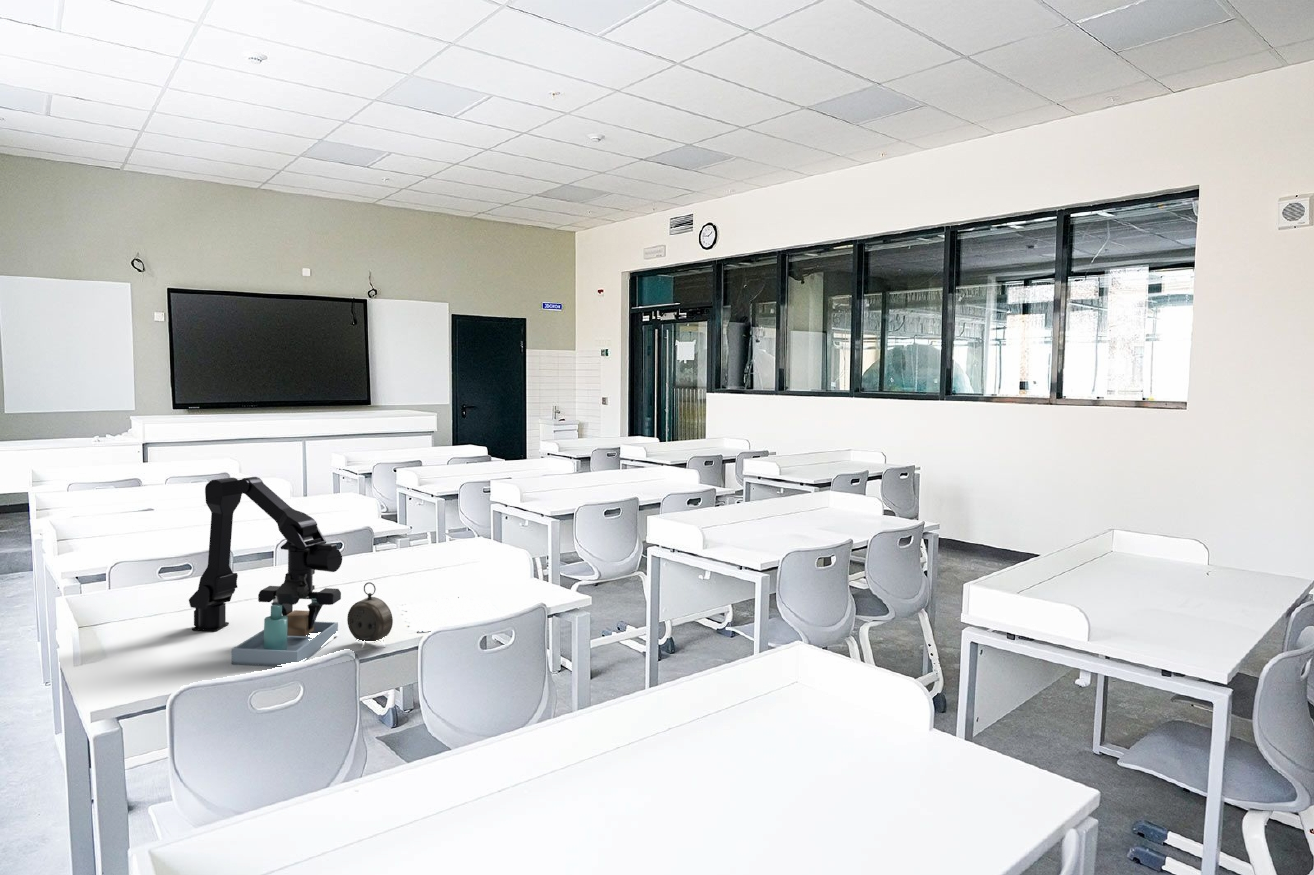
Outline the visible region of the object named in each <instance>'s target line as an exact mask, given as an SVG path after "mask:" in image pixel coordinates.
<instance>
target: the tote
mask: <svg viewBox="0 0 1314 875" xmlns="http://www.w3.org/2000/svg"><path fill="white" fill-rule="evenodd" d="M336 631H338V632H339V622H336V621H335V622H332V621H317V620H315V622H314V630H313V631H312V632H310V633H318V632H321V633H320V634H319V635H317V636H316V637H315V638H313V639H312V638H310V637H308V635H310V634H308V635H307V636H287V651H286V650H263V648H264V629H262V630H261V631H259V632H257V633H256V634H253V636H251V637H249V638H248V639H246V640H244V641H243V642H241V643H240V644H238V645H236V646H234V647H232V648H231V665H236V666H237V665H239V666H240V665H242V666H261V667H262V666H263V667H265V666H266V667H278V666H277V665H281V664H286V663H291V662H299V661H301V660H303V659H305V658H308V657H310V658H311V657H312V656H313V655H315V654H316V653H318V652H319V651H320V650H321V649H320V648H321V646H322V645H323V644H324V643H325V642H326V641H327V640H328V639H329V638H330V637H331V636H332V635H333V634H335V633H336ZM308 639H312V640H310V641H309V640H308ZM319 649H320V650H319ZM318 650H319V651H318ZM317 651H318V652H317ZM308 659H309V658H308Z"/></svg>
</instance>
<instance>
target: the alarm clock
mask: <svg viewBox="0 0 1314 875" xmlns="http://www.w3.org/2000/svg"><path fill="white" fill-rule="evenodd" d="M367 585H372V587H373V592H369V593H368V592H366V591H367V590H366V586H367ZM376 590H377V588H376V585H375V584H374V583H373V582H370V581H368V582H366V583H365V584H364V586H363V592H364V593H365V594H366V595H367V597H365V598H364V599H361V600H359V601H357V602H355V603H353V605H351V607H350V608H349V610H348V612H347V619H346V620H347V626H348V629H349V632H350V634H351V635H352V636H353V637H354V638H355V640H357V639H359V640H362V641H364V640H365V641H376V640H378V641H380V640H379V639H382V638H383V637H384V638H386V637H387V636H388V635H389V634H390V632H391V630H392V627H393V623H394V622H393V614H392V611H391V609H390V607H389V606H388V605H387V604H386V602H385V601H383V600H382V599H381V598H379V597H376V596H373V595H374V594H375V593H376ZM385 636H386V637H385ZM384 638H383V639H384ZM359 640H358V641H359ZM376 642H377V641H376Z"/></svg>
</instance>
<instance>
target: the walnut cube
mask: <svg viewBox="0 0 1314 875" xmlns="http://www.w3.org/2000/svg"><path fill="white" fill-rule="evenodd" d="M286 616H287V617H288V624H287V636H306V635H308V634H309V633H310V632H312V631H313V630H314V624H313V627H312V629H310V630H309V626H308V620H309V610H297V609H296V610H295V609H294V610H293V611H292V612H291V613H289V614H287V615H286Z"/></svg>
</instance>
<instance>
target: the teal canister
mask: <svg viewBox="0 0 1314 875" xmlns="http://www.w3.org/2000/svg"><path fill="white" fill-rule="evenodd" d="M263 620H264V621H263V622H264V623H263V625H264V626H263V630H264V648H263V650H286V651H287V624H288V617H287V616H283V615H282V605H272V604H271V605H270V615H269V616H266V617H265V618H264V619H263Z"/></svg>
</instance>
